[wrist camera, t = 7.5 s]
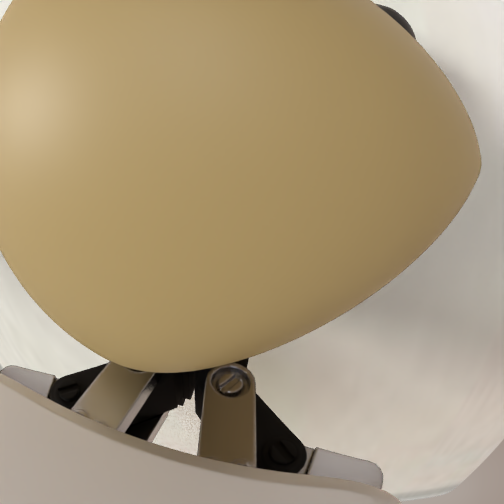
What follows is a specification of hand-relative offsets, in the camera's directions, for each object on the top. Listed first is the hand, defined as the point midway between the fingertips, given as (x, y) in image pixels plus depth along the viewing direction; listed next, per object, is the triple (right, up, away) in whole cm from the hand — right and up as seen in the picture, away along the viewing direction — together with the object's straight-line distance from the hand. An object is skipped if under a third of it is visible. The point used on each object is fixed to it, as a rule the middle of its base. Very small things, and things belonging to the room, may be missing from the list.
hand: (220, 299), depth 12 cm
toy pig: (+2, +7, 0) cm, 7 cm away
